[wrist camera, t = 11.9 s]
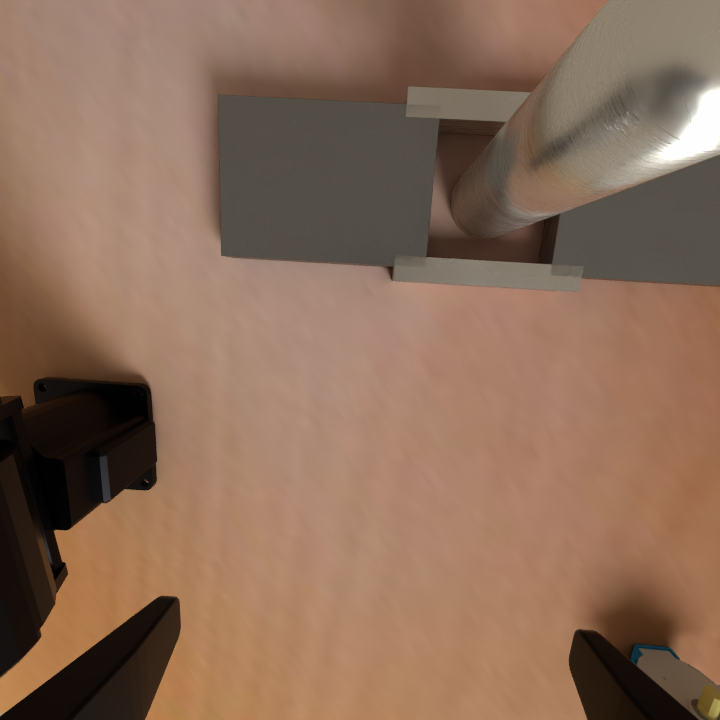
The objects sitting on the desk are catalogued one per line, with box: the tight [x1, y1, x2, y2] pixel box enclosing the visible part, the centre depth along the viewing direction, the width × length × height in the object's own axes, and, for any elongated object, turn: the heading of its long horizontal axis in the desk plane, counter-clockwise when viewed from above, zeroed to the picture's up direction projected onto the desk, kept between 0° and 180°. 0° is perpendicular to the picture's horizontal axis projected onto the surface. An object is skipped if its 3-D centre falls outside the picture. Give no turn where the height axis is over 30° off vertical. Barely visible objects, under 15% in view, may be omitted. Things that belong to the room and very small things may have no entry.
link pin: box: [451, 0, 720, 239], centre depth 12 cm, size 4×4×13 cm
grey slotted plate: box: [218, 86, 720, 292], centre depth 18 cm, size 26×8×2 cm, turn 87°
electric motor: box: [630, 644, 720, 720], centre depth 21 cm, size 7×5×5 cm
